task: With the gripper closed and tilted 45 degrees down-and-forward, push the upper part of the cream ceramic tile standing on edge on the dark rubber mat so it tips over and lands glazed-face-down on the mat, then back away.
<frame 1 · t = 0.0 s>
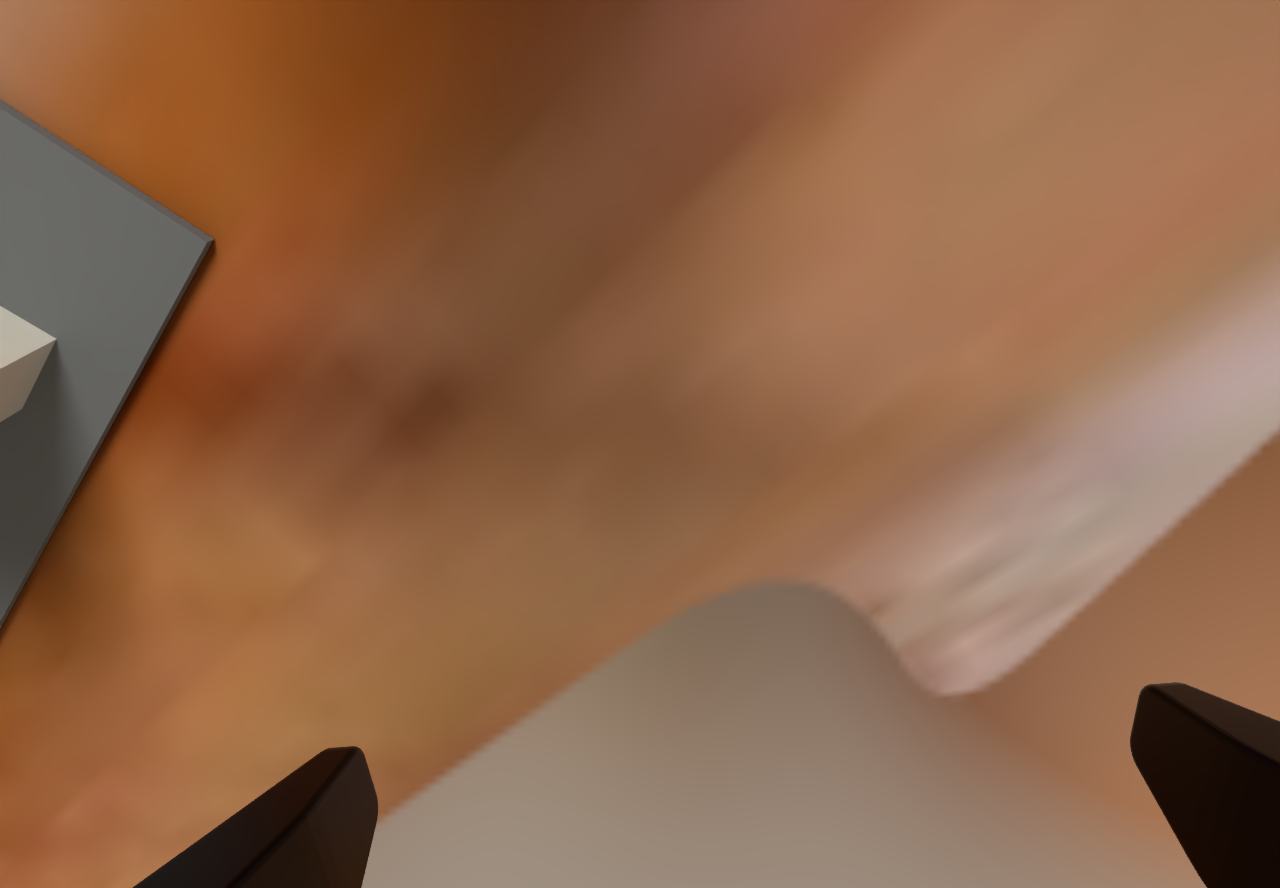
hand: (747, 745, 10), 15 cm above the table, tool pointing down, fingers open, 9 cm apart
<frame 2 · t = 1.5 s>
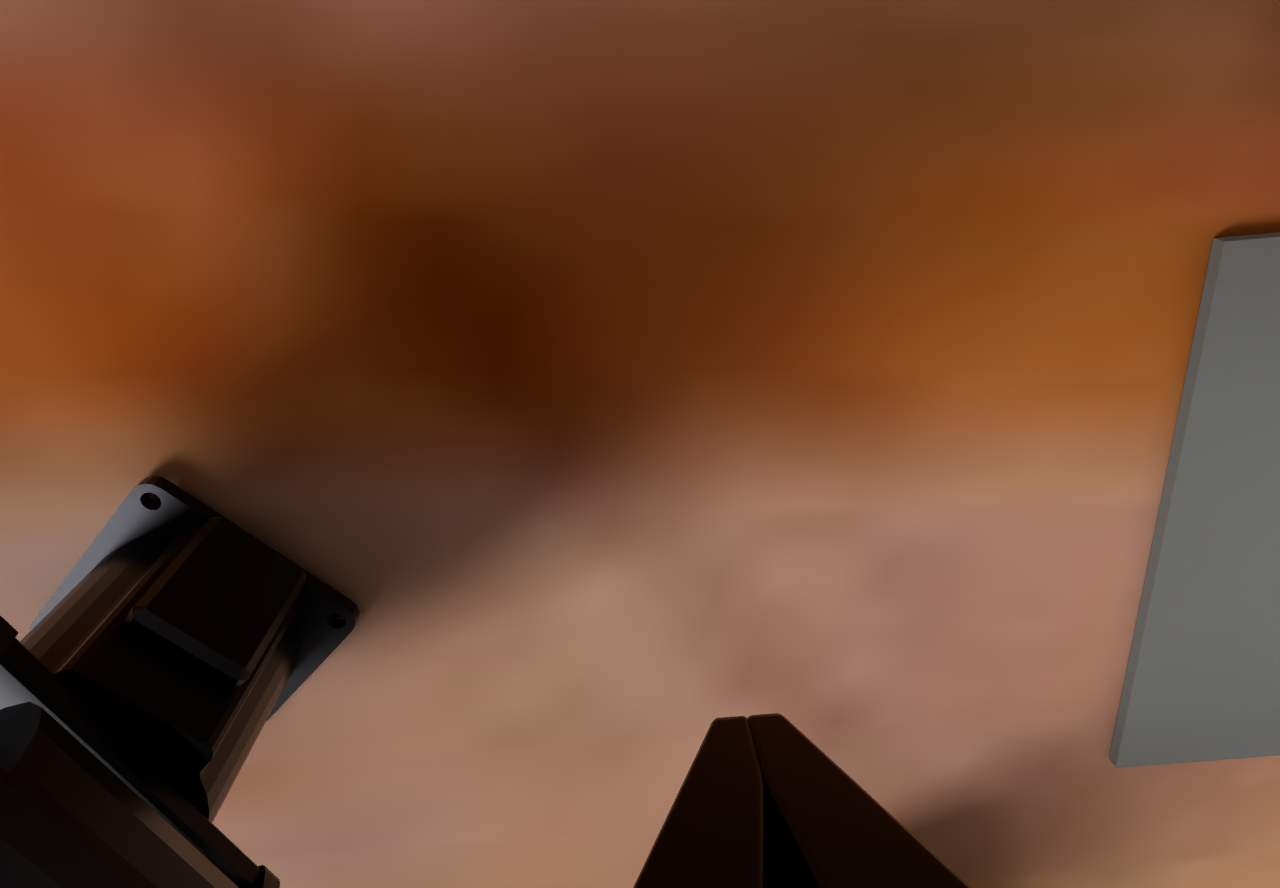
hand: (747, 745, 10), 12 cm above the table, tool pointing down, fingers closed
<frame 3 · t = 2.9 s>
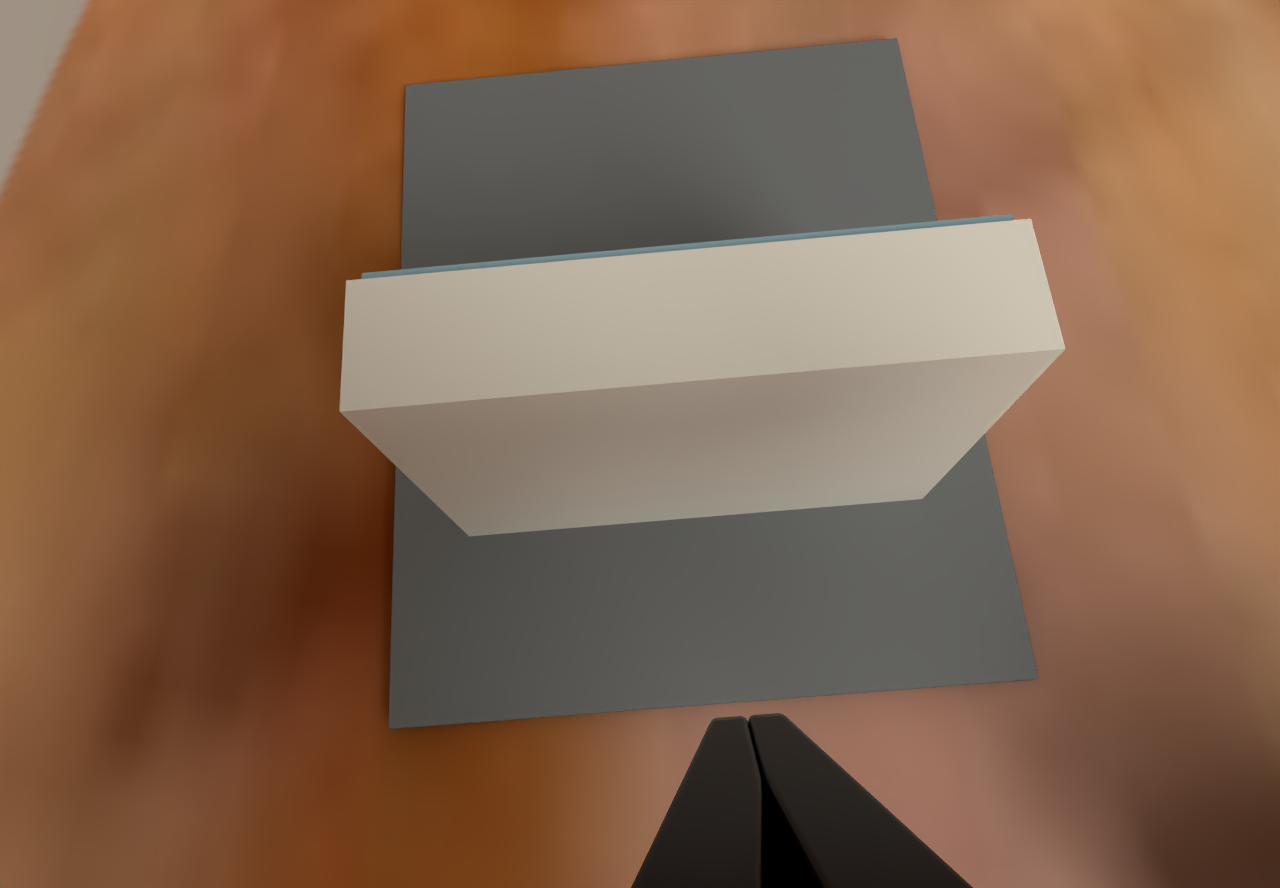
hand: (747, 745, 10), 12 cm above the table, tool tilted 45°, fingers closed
mat: (675, 344, 25), on the table
tile: (689, 472, 23), resting on mat
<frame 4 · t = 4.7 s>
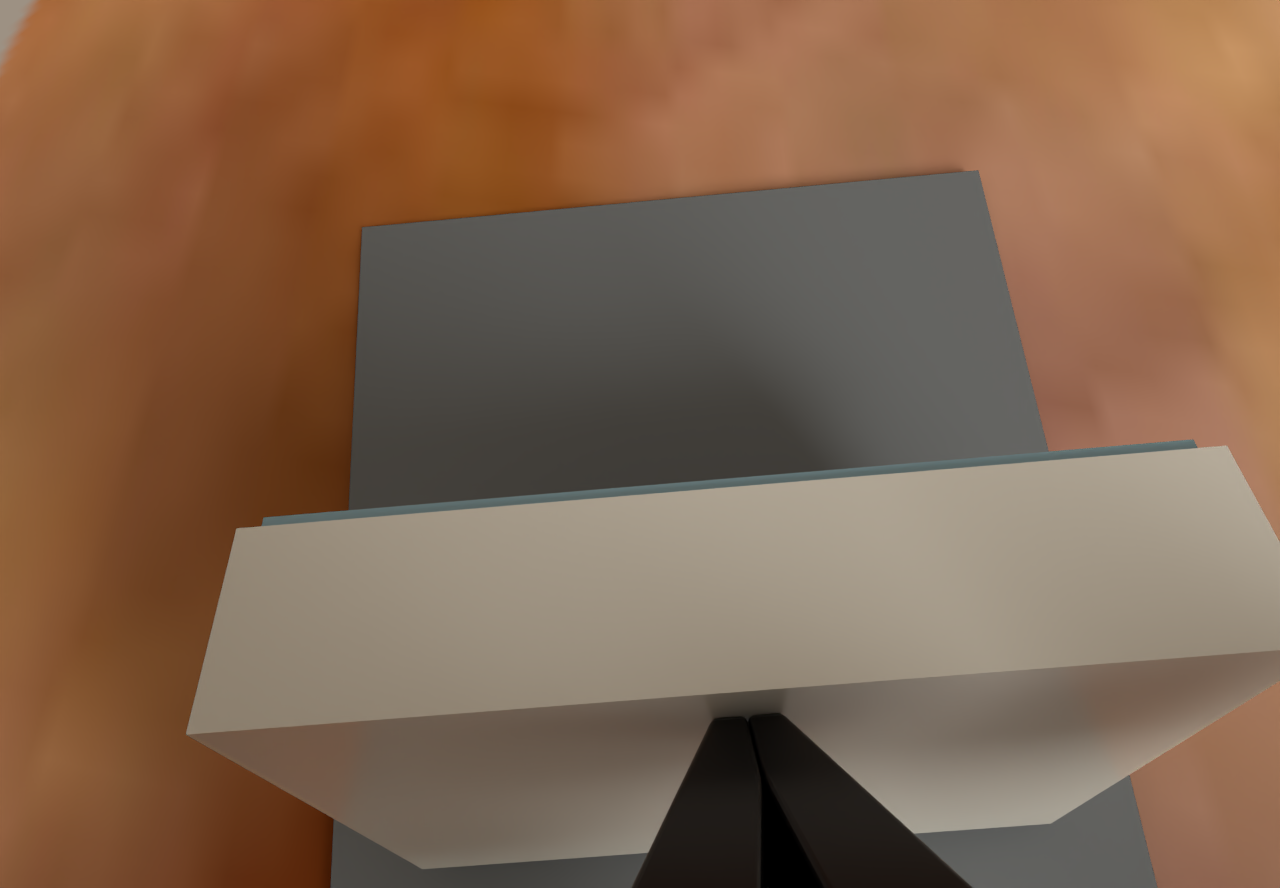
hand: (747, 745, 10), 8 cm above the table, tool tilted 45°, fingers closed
mat: (704, 585, 19), on the table
tile: (726, 778, 17), point 1 cm above the table, tilted 15°, touching mat
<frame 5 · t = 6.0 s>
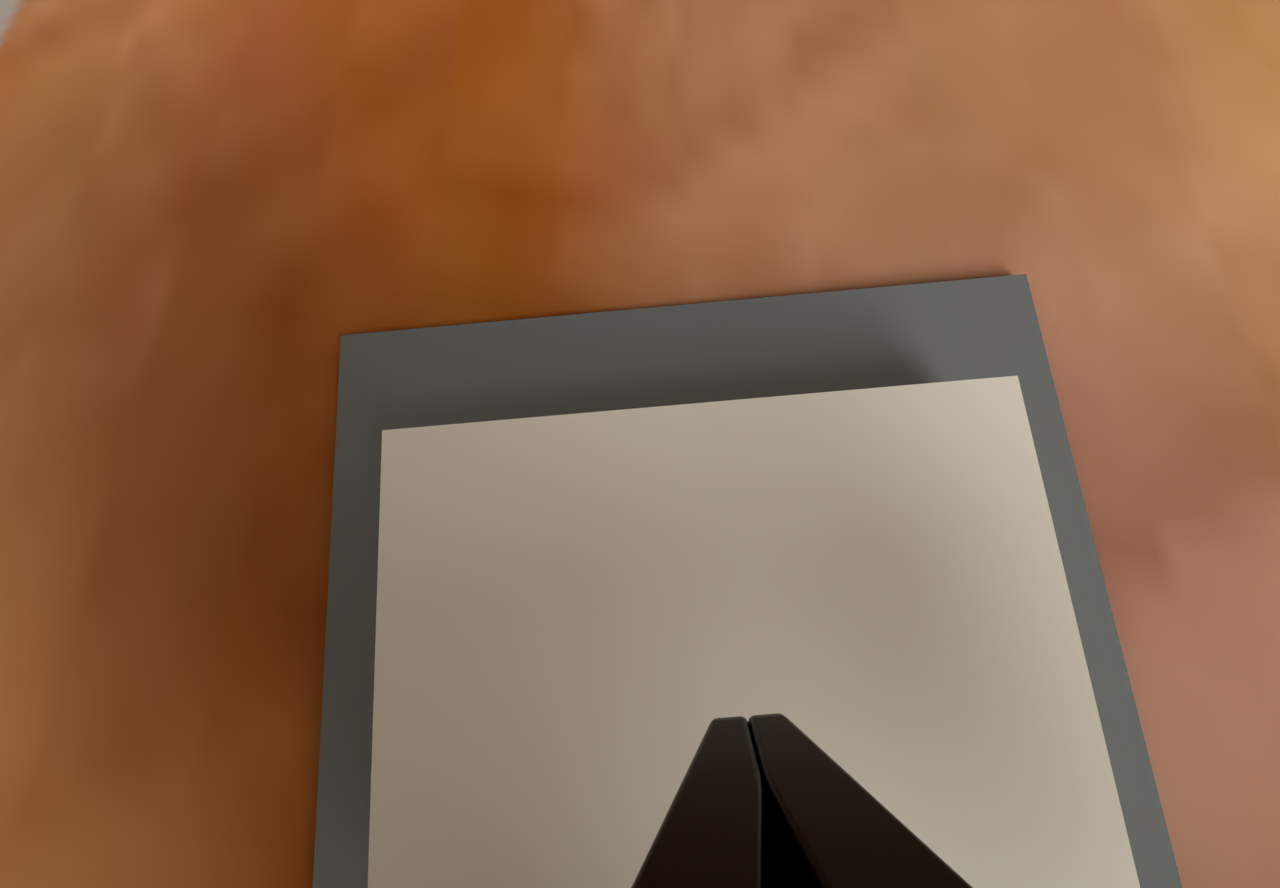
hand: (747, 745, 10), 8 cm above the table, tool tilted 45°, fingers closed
mat: (723, 761, 17), on the table
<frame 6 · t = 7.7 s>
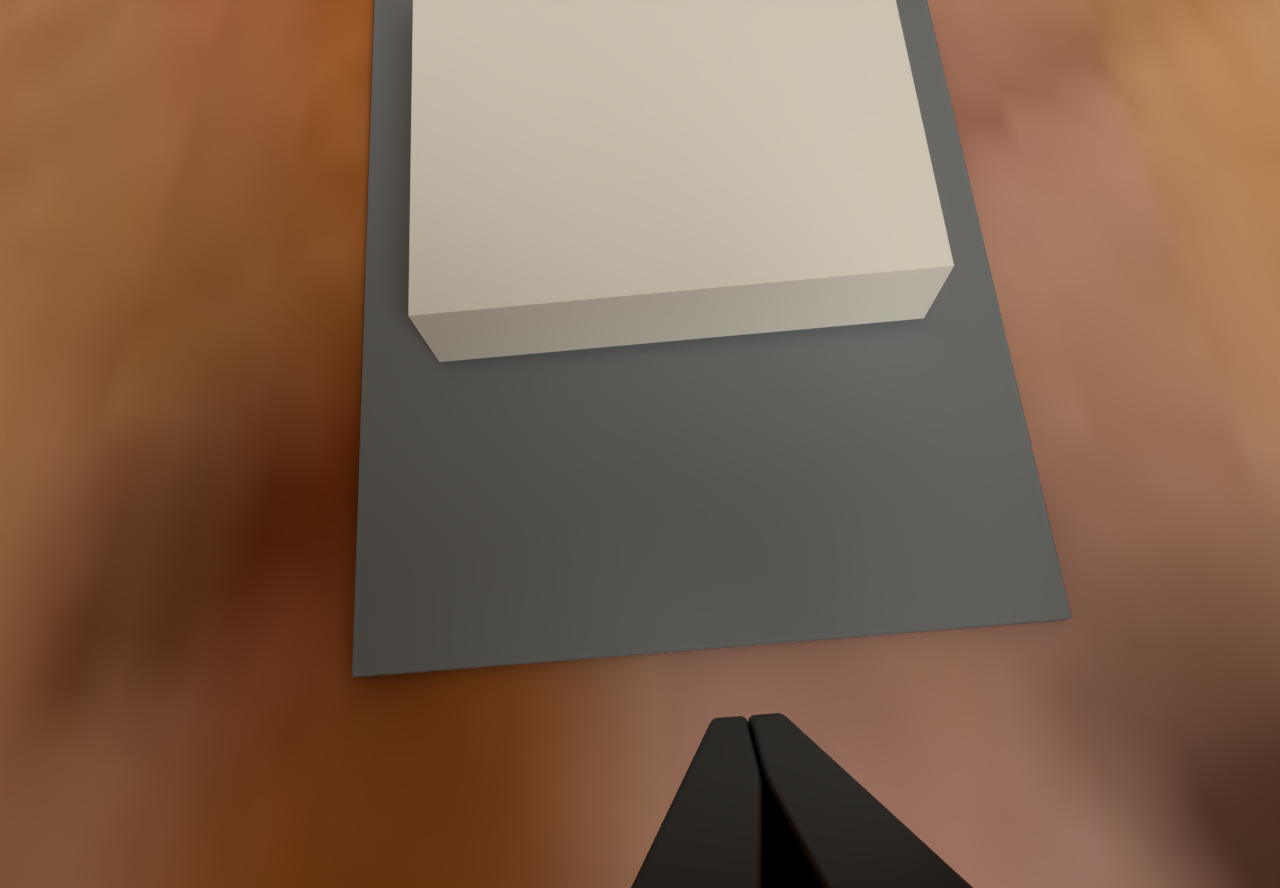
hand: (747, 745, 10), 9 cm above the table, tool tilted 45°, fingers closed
mat: (669, 262, 23), on the table
tile: (679, 317, 20), point 2 cm above the table, tilted 90°, touching mat
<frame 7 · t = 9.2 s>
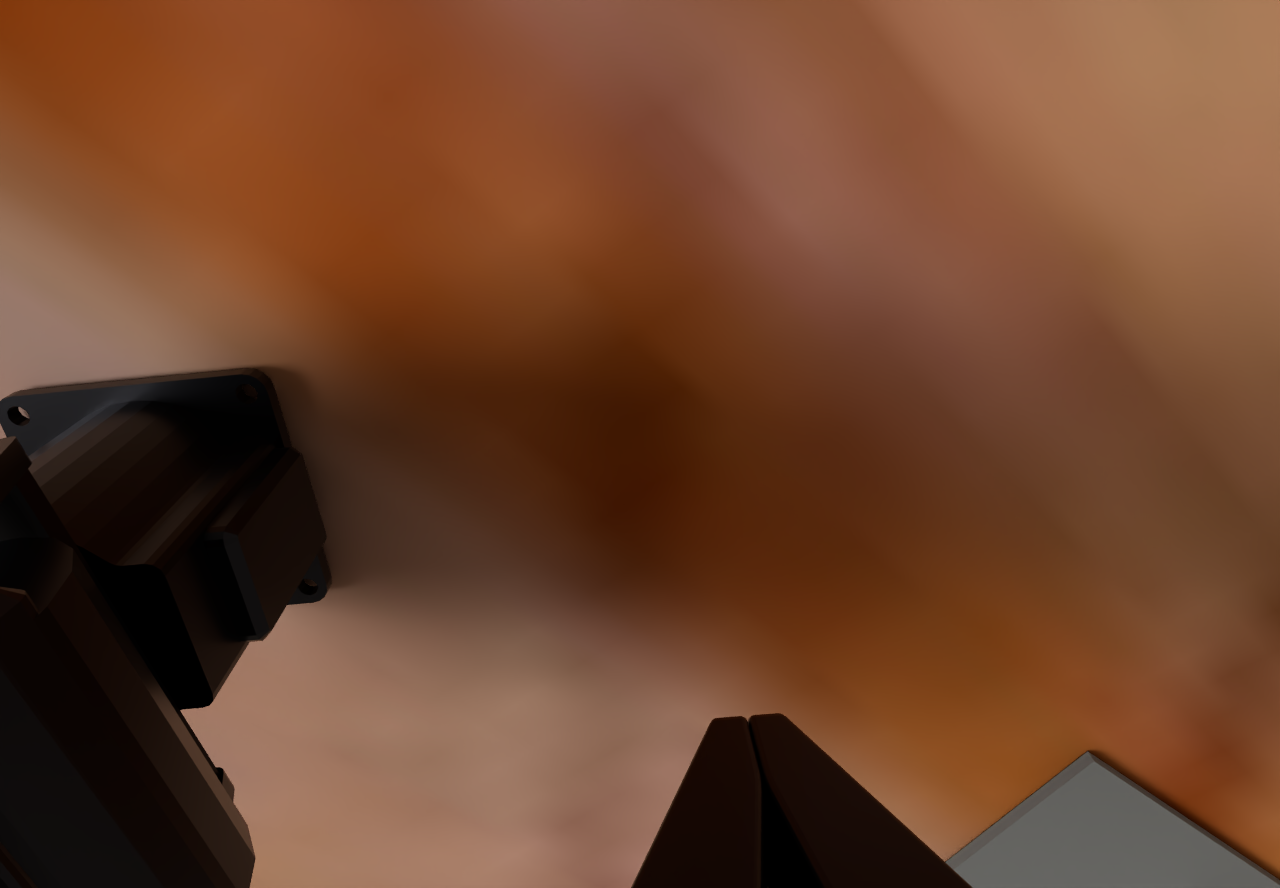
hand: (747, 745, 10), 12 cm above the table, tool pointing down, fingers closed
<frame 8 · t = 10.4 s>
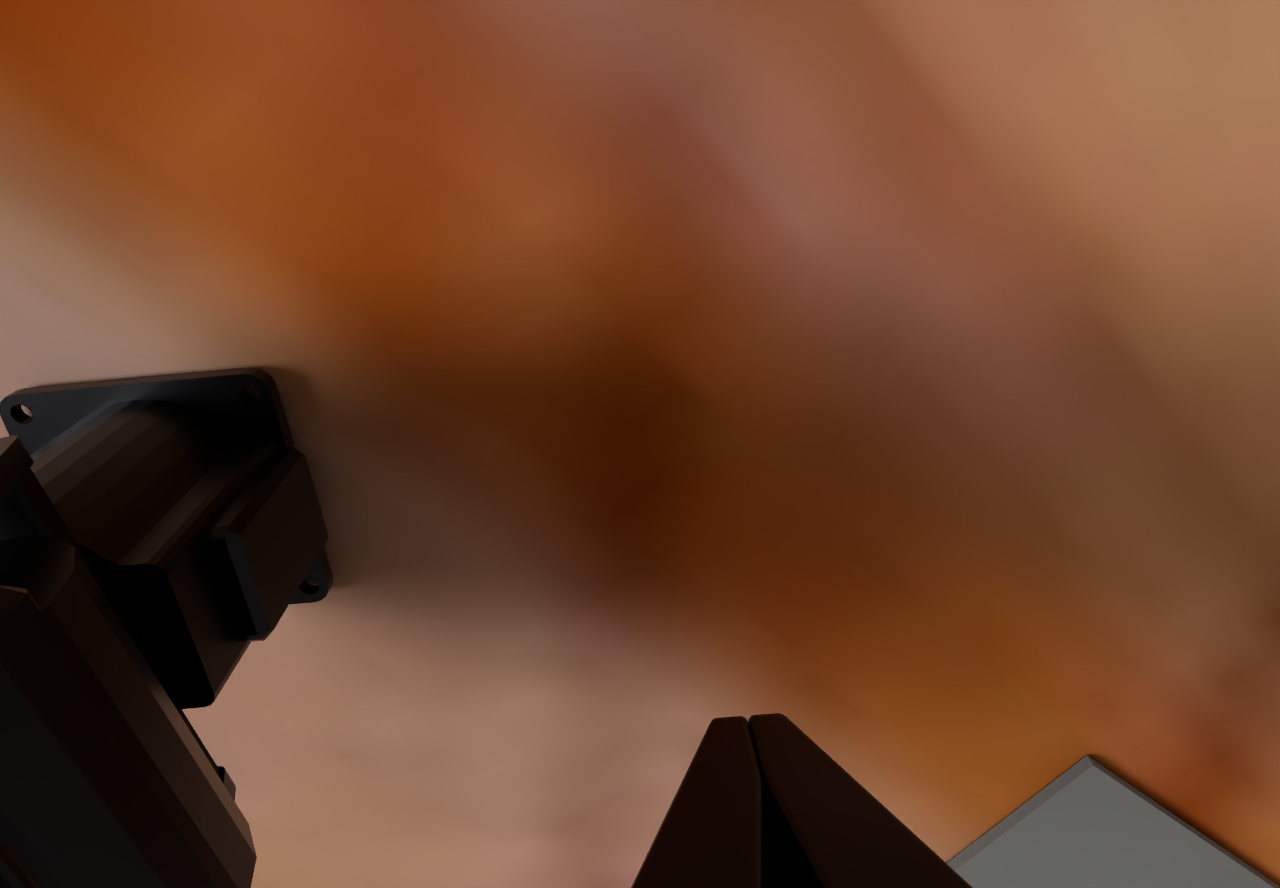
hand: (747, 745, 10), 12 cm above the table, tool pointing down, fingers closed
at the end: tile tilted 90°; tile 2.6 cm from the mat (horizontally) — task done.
